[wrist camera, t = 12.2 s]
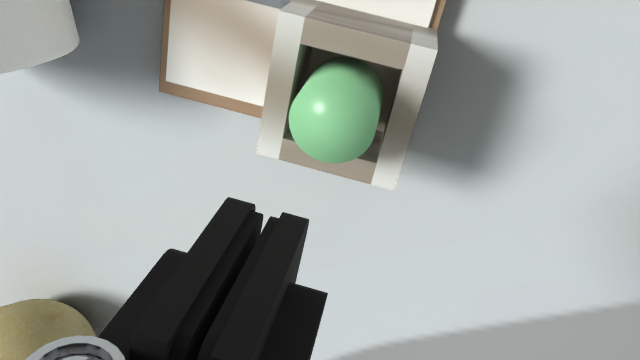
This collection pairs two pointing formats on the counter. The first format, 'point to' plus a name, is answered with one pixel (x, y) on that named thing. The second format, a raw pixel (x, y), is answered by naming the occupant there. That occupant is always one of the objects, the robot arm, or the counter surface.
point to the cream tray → (303, 66)
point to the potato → (37, 326)
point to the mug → (35, 32)
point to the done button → (337, 110)
